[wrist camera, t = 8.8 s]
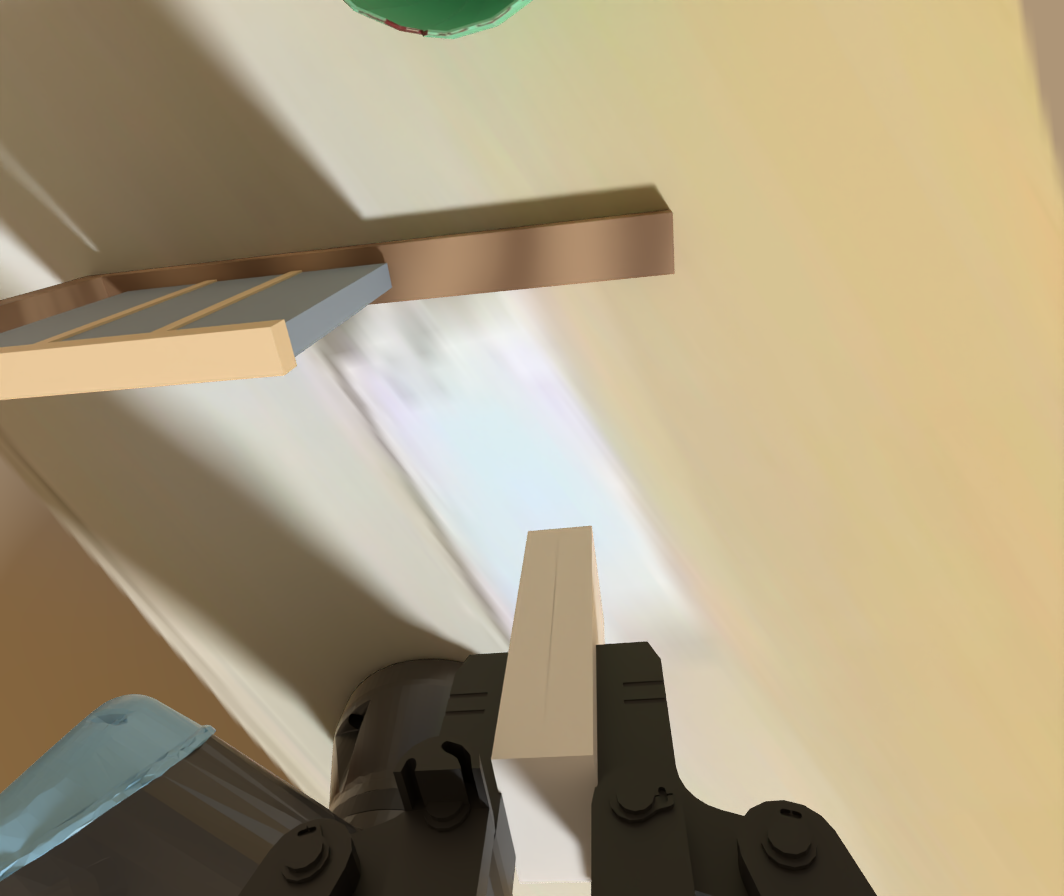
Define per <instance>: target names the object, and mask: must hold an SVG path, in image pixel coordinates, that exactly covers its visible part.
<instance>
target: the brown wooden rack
mask: <svg viewBox="0 0 1064 896" xmlns="http://www.w3.org/2000/svg"><path fill="white" fill-rule="evenodd" d="M381 263H387V265H388V270H389V275H390V280H391V285H392V288H391V289H389V290H388V291H386V292H385V293H384V294H382V295H381V296H379V297H378V298H377V299H375V300H374V301H372V302H371V303H370V304H379V303H389V302H399V301H409V300H419V299H429V298H439V297H449V296H459V295H469V294H478V293H488V292H498V291H508V290H518V289H528V288H538V287H548V286H558V285H568V284H578V283H588V282H598V281H607V280H617V279H627V278H637V277H647V276H657V275H667V274H674V244H673V213H672V211H671V210H663V211H655V212H646V213H637V214H628V215H619V216H611V217H602V218H593V219H584V220H576V221H567V222H558V223H549V224H540V225H532V226H523V227H514V228H505V229H497V230H488V231H479V232H470V233H461V234H453V235H444V236H435V237H426V238H417V239H409V240H400V241H391V242H382V243H374V244H365V245H356V246H347V247H338V248H330V249H321V250H312V251H303V252H295V253H286V254H277V255H268V256H259V257H251V258H242V259H233V260H224V261H216V262H207V263H198V264H189V265H180V266H172V267H163V268H154V269H145V270H137V271H128V272H119V273H110V274H101V275H93V276H86V277H82V278H79V279H75V280H72V281H69V282H65V283H62V284H58V285H54V286H51V287H47V288H44V289H40V290H36V291H33V292H29V293H25V294H22V295H18V296H14V297H11V298H7V299H4V300H0V333H3V332H6V331H9V330H12V329H15V328H18V327H21V326H24V325H27V324H30V323H33V322H36V321H39V320H42V319H45V318H48V317H51V316H54V315H57V314H60V313H63V312H66V311H69V310H72V309H75V308H79V307H82V306H85V305H88V304H91V303H94V302H97V301H100V300H103V299H106V298H109V297H112V296H115V295H118V294H121V293H124V292H127V291H134V290H143V289H152V288H162V287H171V286H180V285H189V284H198V283H201V282H203V281H207V280H216V279H217V281H226V280H235V279H244V278H253V277H262V276H271V275H280V274H286V273H288V272H290V271H298V270H302V272H308V271H317V270H326V269H335V268H344V267H354V266H363V265H372V264H381ZM368 305H369V304H368Z"/></svg>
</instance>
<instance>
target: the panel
mask: <svg viewBox="0 0 1064 896" xmlns="http://www.w3.org/2000/svg"><path fill="white" fill-rule="evenodd" d="M391 288H392V285H391V280H390V275H389V270H388V265H387V263H381V264H372V265H363V266H354V267H344V268H335V269H326V270H317V271H308V272H302V270H298V271H290V272H288V273H286V274H280V275H271V276H262V277H253V278H244V279H235V280H226V281H217V279H216V280H207V281H203V282H201V283H198V284H189V285H180V286H171V287H162V288H152V289H143V290H134V291H127V292H124V293H121V294H118V295H115V296H112V297H109V298H106V299H103V300H100V301H97V302H94V303H91V304H88V305H85V306H82V307H79V308H75V309H72V310H69V311H66V312H63V313H60V314H57V315H54V316H51V317H48V318H45V319H42V320H39V321H36V322H33V323H30V324H27V325H24V326H21V327H18V328H15V329H12V330H9V331H6V332H3V333H0V400H7V399H19V398H30V397H42V396H53V395H65V394H76V393H88V392H99V391H111V390H122V389H134V388H145V387H157V386H168V385H180V384H191V383H203V382H214V381H226V380H237V379H248V378H260V377H271V376H283V375H285V374H287V373H288V372H289V371H291V370H292V369H293V368H295V367H296V366H297V364H296V360H295V357H296V356H297V355H298V354H300V353H301V352H303V351H304V350H305V349H307V348H308V347H310V346H311V345H312V344H314V343H315V342H317V341H318V340H319V339H321V338H322V337H324V336H325V335H326V334H328V333H329V332H331V331H332V330H333V329H335V328H336V327H338V326H339V325H340V324H342V323H343V322H345V321H346V320H347V319H349V318H350V317H352V316H353V315H354V314H356V313H357V312H358V311H360V310H361V309H363V308H364V307H365V306H367V305H368V304H370V303H371V302H372V301H374V300H375V299H377V298H378V297H379V296H381V295H382V294H384V293H385V292H386V291H388V290H389V289H391Z"/></svg>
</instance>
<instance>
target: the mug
mask: <svg viewBox="0 0 1064 896" xmlns="http://www.w3.org/2000/svg"><path fill="white" fill-rule="evenodd" d="M343 1H344V2H345V3H346V4H348V5H349V6H350V7H351V8H352V9H353V10H354V11H356V12H358V13H360V14H362V15H364V16H367V17H369V18H371V19H374V20H376V21H378V22H381V23H383V24H385V25H388V26H390V27H392V28H395V29H397V30H399V31H404V32H409V33H415V34H419V35H423V37H435V38H448V39H455V38H458V37H462V36H465V35H469V34H472V33H476V32H479V31H482V30H486V29H489V28H493V27H496V26H498V25H500V24H501V23H503V22H504V21H506V20H507V19H508V18H510V17H511V16H512V15H514V14H515V13H516V12H518V11H519V10H520V9H522V8H523V7H524V6H526V5H527V4H528V3H530V2H531V1H532V0H343Z"/></svg>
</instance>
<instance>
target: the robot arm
mask: <svg viewBox="0 0 1064 896" xmlns="http://www.w3.org/2000/svg"><path fill="white" fill-rule="evenodd" d="M215 731H216V729H214V728H213V727H211V726H210V725H204V726H201V725H199V724H198V723H196V722H194V721H192V720H191V719H189V718H187V717H185V716H184V715H182V714H180V713H178V712H177V711H175V710H173V709H172V708H170V707H168V706H166V705H165V704H163V703H161V702H159V701H158V700H156V699H154V698H151V697H149V696H145V695H137V694H131V695H125V696H121V697H117V698H114V699H112V700H109V701H107V702H106V703H104V704H103V705H101V706H100V707H98V708H97V709H96V710H94V711H93V712H92V713H91V714H89V715H88V716H87V717H86V718H85V719H84V720H82V721H81V722H80V723H79V724H78V725H77V726H75V727H74V728H73V729H72V730H71V731H70V732H69V733H67V734H66V735H65V736H64V737H63V738H62V739H61V740H60V741H58V742H57V743H56V744H55V745H54V746H53V747H52V748H51V749H49V750H48V751H47V752H46V753H45V754H44V755H43V756H42V757H40V758H39V759H38V760H37V761H36V762H35V763H34V764H33V765H32V766H30V767H29V768H28V769H27V770H26V771H25V772H24V773H23V774H22V775H21V776H19V777H18V778H17V779H16V780H15V781H14V782H13V783H12V784H11V785H9V786H8V787H7V788H6V789H5V790H4V791H3V792H2V793H1V794H0V896H513V895H512V890H513V880H514V871H515V867H516V871H517V875H518V880H519V884H521V883H569V882H591V896H877V895H876V893H875V892H874V890H873V889H872V887H871V886H870V884H869V883H868V881H867V879H866V878H865V876H864V875H863V873H862V872H861V870H860V869H859V867H858V865H857V864H856V862H855V861H854V859H853V858H852V856H851V855H850V853H849V852H848V850H847V848H846V847H845V845H844V844H843V842H842V841H841V839H840V838H839V836H838V834H837V833H836V831H835V830H834V829H833V828H832V827H831V826H830V825H829V824H828V822H827V821H826V820H825V819H824V818H823V817H822V816H821V815H819V814H818V813H816V812H814V811H812V810H811V809H809V808H807V807H806V806H804V805H801V804H797V803H793V802H789V801H785V800H780V801H766V802H763V803H761V804H759V805H757V806H755V807H753V808H751V809H750V810H749V811H748V812H747V813H746V815H745V816H742V815H738V814H734V813H731V812H727V811H723V810H720V809H717V808H715V807H712V806H709V805H707V804H705V803H704V802H702V801H700V800H699V799H697V798H696V797H694V796H693V795H692V794H691V793H690V792H689V791H688V790H687V789H686V788H685V786H684V784H683V783H682V781H681V780H680V778H679V775H678V772H677V769H676V764H675V757H674V750H673V743H672V736H671V729H670V722H669V715H668V707H667V701H666V693H665V686H664V679H663V672H662V665H661V659H660V658H659V656H658V655H657V654H656V652H655V651H654V650H653V648H652V647H651V646H650V644H649V643H648V642H633V643H618V644H605V641H604V618H603V610H602V603H601V595H600V587H599V579H598V571H597V564H596V556H595V548H594V540H593V532H592V526H583V527H572V528H561V529H549V530H538V531H528V535H527V541H526V547H525V554H524V560H523V566H522V572H521V578H520V584H519V591H518V597H517V603H516V609H515V615H514V621H513V628H512V634H511V640H510V646H509V652H506V653H491V654H476V655H469V657H468V658H467V659H466V660H465V662H464V663H460V662H455V661H448V660H437V659H424V660H413V661H407V662H402V663H398V664H395V665H392V666H389V667H386V668H384V669H382V670H380V671H378V672H376V673H374V674H373V675H371V676H370V677H368V678H367V679H366V680H364V681H363V682H362V683H361V684H360V685H359V686H358V687H357V688H356V690H355V691H354V692H353V694H352V695H351V697H350V699H349V701H348V703H347V705H346V707H345V710H344V712H343V714H342V716H341V718H340V721H339V723H338V726H337V728H336V732H335V736H334V742H333V755H332V771H331V786H330V802H329V809H327V808H326V807H324V806H323V805H321V804H320V803H318V802H317V801H315V800H314V799H312V798H310V797H309V796H307V795H306V794H304V793H303V792H301V791H300V790H298V789H297V788H295V787H294V786H292V785H290V784H289V783H287V782H286V781H284V780H283V779H281V778H280V777H278V776H277V775H275V774H274V773H272V772H271V771H269V770H267V769H266V768H264V767H263V766H261V765H260V764H258V763H257V762H255V761H254V760H252V759H251V758H249V757H247V756H246V755H244V754H243V753H241V752H240V751H238V750H237V749H235V748H234V747H232V746H231V745H229V744H228V743H226V742H224V741H223V740H221V739H220V738H218V737H217V736H215V735H214V733H215Z"/></svg>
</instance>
